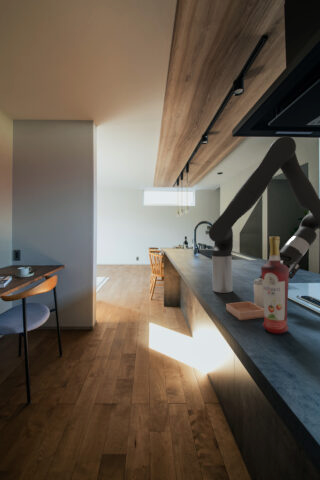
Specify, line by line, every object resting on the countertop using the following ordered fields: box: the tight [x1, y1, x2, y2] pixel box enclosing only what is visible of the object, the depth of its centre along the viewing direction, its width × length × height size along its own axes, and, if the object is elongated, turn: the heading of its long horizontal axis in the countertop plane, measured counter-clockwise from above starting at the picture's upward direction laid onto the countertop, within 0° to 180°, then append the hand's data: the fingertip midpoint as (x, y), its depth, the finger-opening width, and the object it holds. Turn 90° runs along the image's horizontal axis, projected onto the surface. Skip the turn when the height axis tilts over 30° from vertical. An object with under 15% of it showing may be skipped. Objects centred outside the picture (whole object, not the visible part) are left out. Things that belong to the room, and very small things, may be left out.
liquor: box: [260, 236, 290, 335], centre depth 66 cm, size 7×7×28 cm
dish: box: [225, 300, 264, 321], centre depth 81 cm, size 10×10×2 cm
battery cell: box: [253, 277, 264, 309], centre depth 86 cm, size 4×4×11 cm
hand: (268, 282), depth 86 cm, fingers open, 8 cm apart
